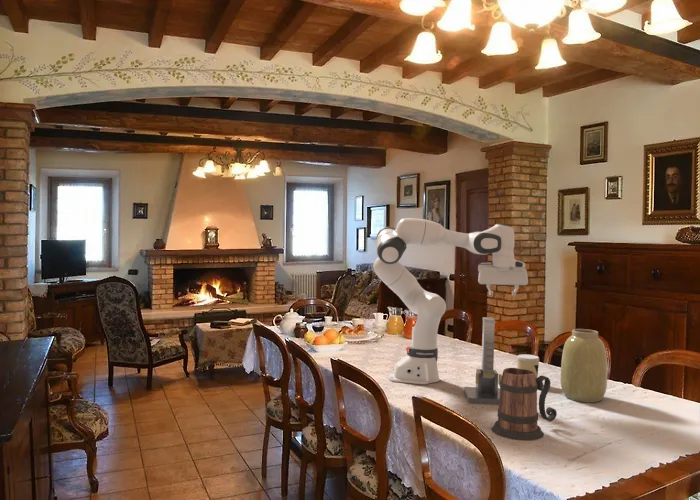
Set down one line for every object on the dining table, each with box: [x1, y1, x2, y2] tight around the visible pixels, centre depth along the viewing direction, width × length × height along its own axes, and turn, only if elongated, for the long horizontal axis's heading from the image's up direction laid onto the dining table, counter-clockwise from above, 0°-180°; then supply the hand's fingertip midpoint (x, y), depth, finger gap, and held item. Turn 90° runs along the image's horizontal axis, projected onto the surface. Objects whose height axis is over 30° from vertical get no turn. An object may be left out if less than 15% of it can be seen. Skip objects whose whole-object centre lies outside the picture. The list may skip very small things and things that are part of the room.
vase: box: [560, 328, 608, 403], centre depth 226 cm, size 17×17×27 cm
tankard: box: [490, 367, 558, 442], centre depth 187 cm, size 24×17×20 cm
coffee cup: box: [516, 353, 540, 379], centre depth 246 cm, size 9×9×12 cm
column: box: [481, 316, 496, 378], centre depth 223 cm, size 4×6×23 cm, turn 174°
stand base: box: [463, 368, 503, 406], centre depth 223 cm, size 16×16×11 cm
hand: (502, 295), depth 238 cm, fingers open, 8 cm apart
